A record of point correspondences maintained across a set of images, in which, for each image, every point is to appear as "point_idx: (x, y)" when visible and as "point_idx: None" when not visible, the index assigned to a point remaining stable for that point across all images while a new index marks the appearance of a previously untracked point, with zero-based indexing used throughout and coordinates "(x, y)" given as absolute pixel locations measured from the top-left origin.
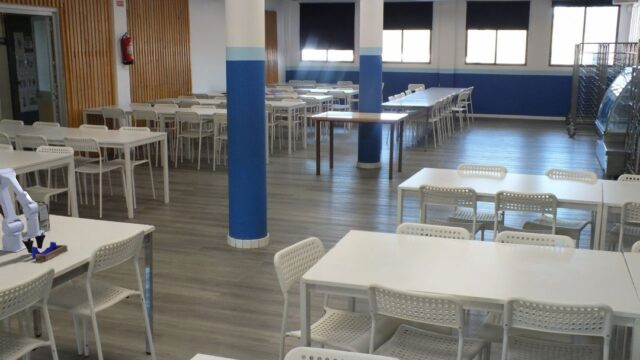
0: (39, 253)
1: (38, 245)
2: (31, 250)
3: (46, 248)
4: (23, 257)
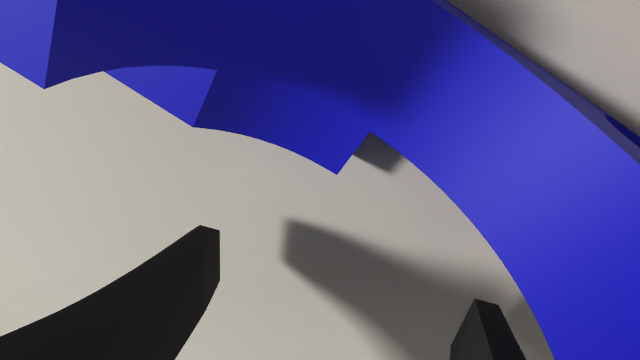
0: (622, 142)
1: (190, 311)
2: (522, 354)
3: (215, 129)
4: None
